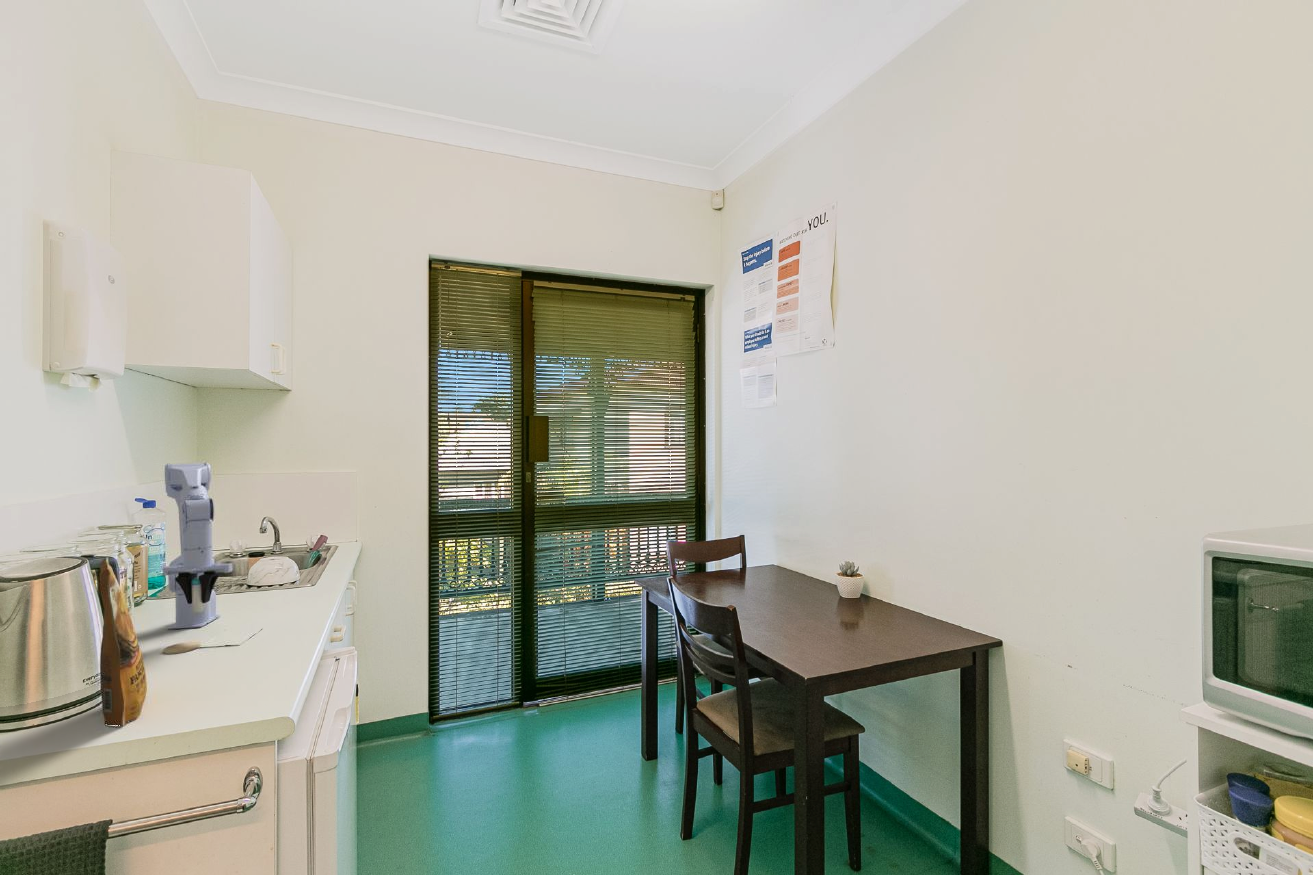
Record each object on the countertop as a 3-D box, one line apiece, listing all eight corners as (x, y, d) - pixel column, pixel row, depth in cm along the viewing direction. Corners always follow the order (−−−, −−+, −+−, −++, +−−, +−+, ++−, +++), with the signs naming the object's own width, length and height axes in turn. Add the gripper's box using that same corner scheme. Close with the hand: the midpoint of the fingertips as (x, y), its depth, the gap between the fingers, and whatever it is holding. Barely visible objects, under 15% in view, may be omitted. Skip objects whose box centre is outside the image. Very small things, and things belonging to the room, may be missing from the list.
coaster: (174, 644, 144) (174, 642, 144) (207, 642, 145) (207, 640, 145) (156, 655, 137) (156, 653, 137) (190, 652, 138) (190, 651, 138)
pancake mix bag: (85, 738, 100) (83, 571, 99) (105, 697, 115) (102, 553, 115) (139, 726, 103) (136, 566, 103) (150, 688, 119) (148, 549, 119)
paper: (224, 631, 153) (224, 630, 153) (263, 629, 155) (263, 628, 155) (197, 648, 141) (197, 647, 141) (239, 645, 143) (239, 644, 143)
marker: (195, 609, 149) (195, 577, 149) (207, 608, 150) (207, 577, 149) (189, 612, 146) (188, 580, 146) (201, 612, 147) (201, 579, 147)
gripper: (154, 552, 143) (155, 608, 143) (222, 549, 145) (222, 605, 145) (172, 546, 149) (173, 600, 150) (236, 544, 152) (237, 597, 152)
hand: (198, 602), depth 148 cm, fingers closed on marker, 3 cm apart
